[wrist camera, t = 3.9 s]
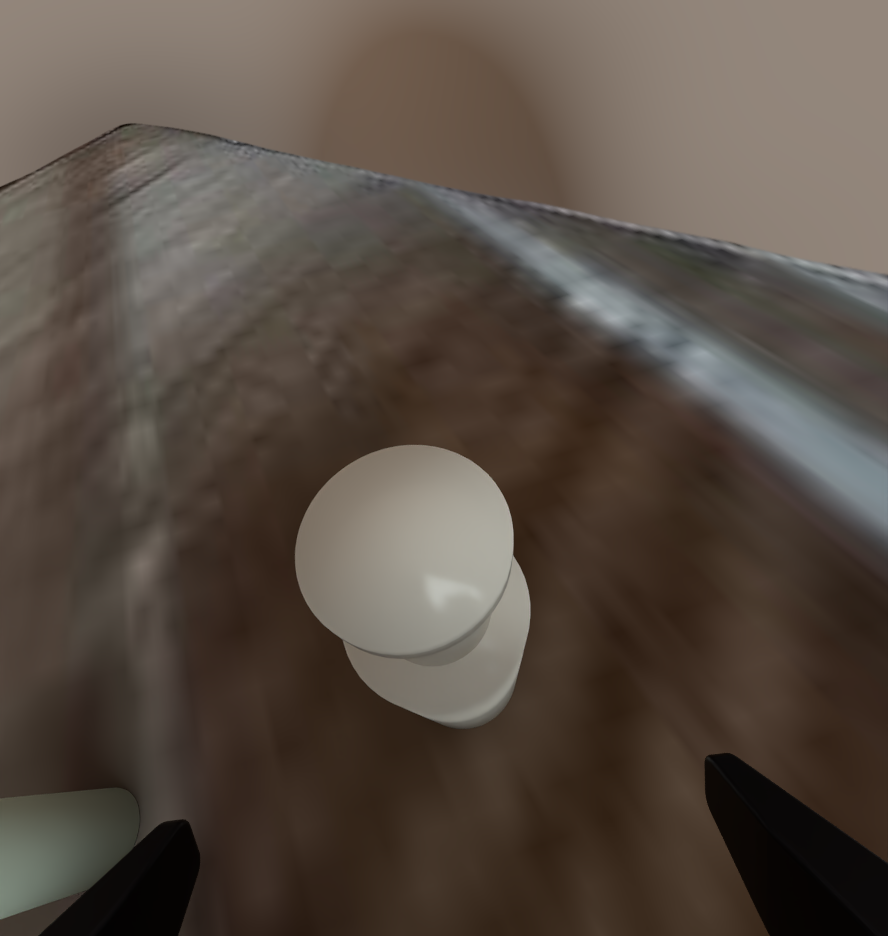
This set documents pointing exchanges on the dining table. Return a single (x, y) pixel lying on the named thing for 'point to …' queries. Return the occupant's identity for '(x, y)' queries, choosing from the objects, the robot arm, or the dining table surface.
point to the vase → (419, 581)
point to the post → (61, 844)
